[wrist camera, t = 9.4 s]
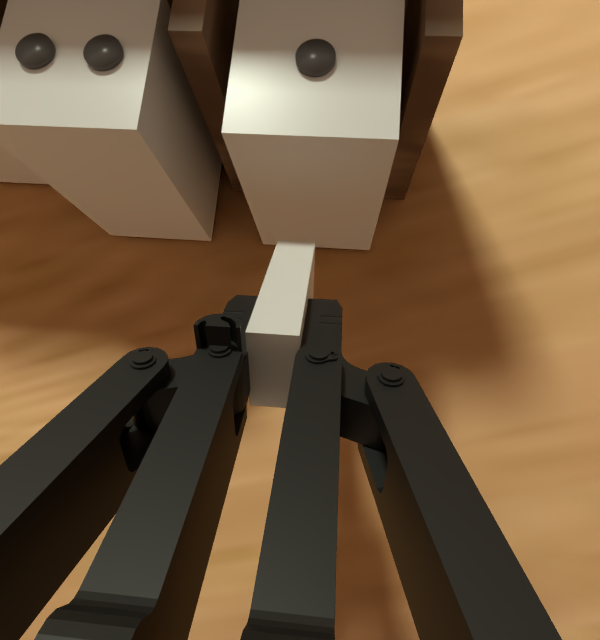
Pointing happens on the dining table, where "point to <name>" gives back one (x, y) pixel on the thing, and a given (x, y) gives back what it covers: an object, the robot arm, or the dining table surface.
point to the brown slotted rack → (416, 83)
